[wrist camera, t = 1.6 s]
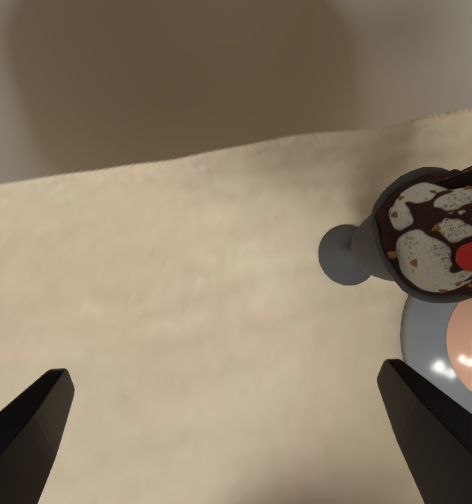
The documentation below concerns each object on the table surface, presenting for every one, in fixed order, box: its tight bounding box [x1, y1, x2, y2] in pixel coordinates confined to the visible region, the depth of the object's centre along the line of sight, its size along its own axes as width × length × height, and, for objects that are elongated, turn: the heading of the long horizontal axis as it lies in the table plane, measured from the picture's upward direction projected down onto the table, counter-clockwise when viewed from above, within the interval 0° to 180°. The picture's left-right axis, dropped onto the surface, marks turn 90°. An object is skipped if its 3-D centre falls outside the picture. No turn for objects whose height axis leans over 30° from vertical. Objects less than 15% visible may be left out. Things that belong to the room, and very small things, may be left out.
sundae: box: [319, 166, 472, 303], centre depth 17 cm, size 7×7×15 cm
